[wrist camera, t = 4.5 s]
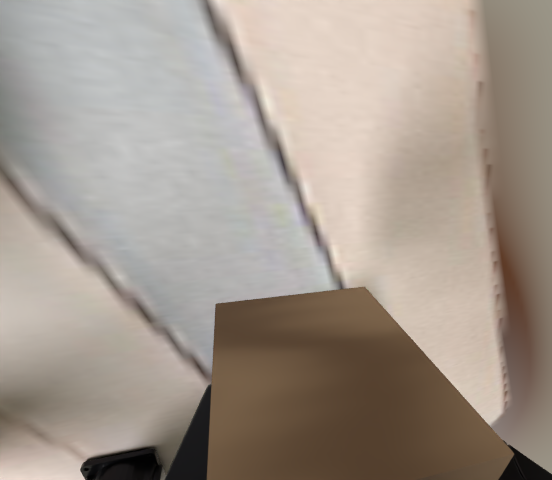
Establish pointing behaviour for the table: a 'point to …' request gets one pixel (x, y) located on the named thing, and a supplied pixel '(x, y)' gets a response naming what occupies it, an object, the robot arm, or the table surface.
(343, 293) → the walnut block
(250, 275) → the table surface
